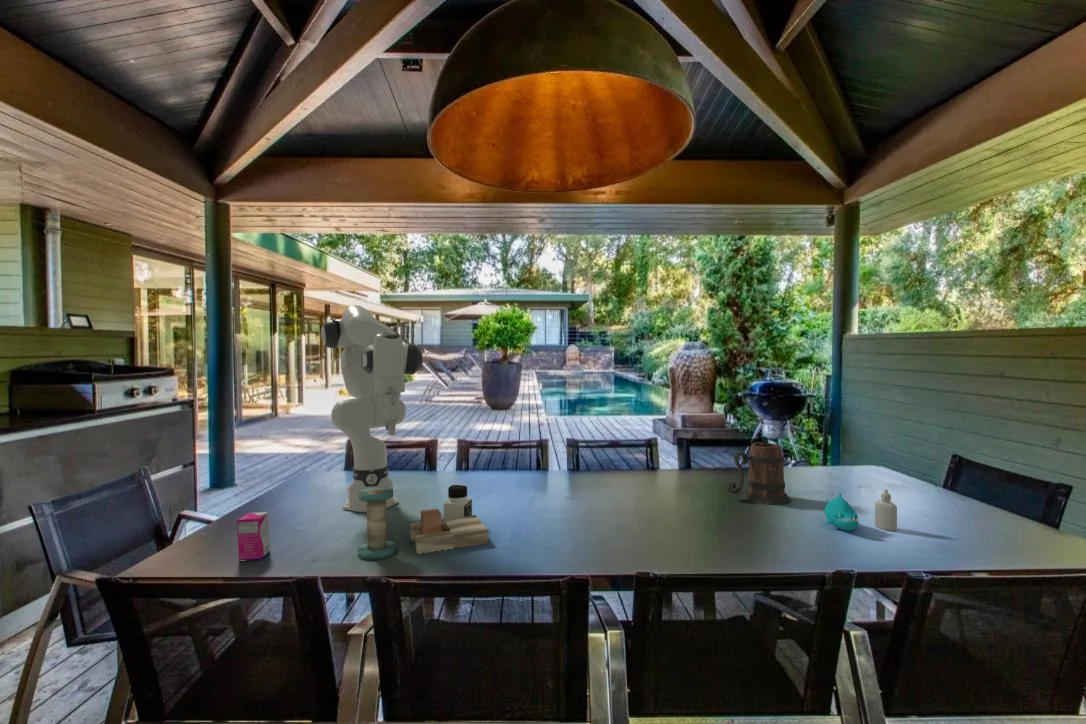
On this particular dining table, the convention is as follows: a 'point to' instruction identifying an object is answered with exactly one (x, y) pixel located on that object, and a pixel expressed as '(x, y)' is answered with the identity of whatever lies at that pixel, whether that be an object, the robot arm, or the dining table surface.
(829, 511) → the toy shark
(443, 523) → the notched board
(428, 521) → the wooden block
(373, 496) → the bobbin
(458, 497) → the medicine bottle
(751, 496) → the tankard
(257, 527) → the supplement box
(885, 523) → the eye dropper bottle
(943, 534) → the dining table surface
